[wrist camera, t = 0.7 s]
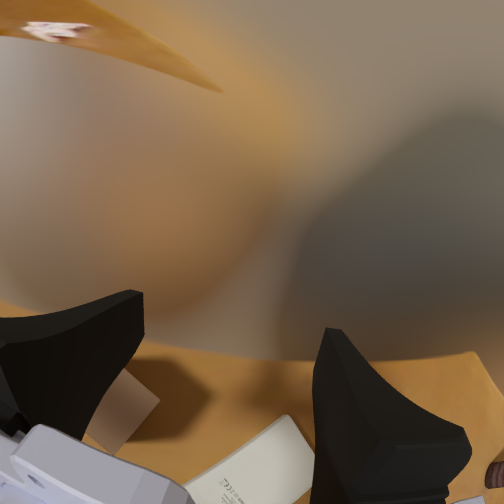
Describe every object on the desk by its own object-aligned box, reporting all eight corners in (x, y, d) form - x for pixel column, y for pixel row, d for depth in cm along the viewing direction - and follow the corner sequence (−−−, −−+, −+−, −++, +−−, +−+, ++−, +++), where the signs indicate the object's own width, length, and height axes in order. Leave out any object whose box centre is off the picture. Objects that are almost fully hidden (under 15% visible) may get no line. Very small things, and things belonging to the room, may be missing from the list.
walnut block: (109, 442, 19) (113, 455, 15) (61, 399, 19) (51, 399, 14) (146, 399, 22) (160, 400, 18) (100, 357, 22) (101, 346, 18)
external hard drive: (317, 471, 26) (225, 545, 19) (279, 414, 28) (173, 486, 20) (327, 473, 25) (232, 551, 17) (289, 414, 26) (178, 491, 19)
